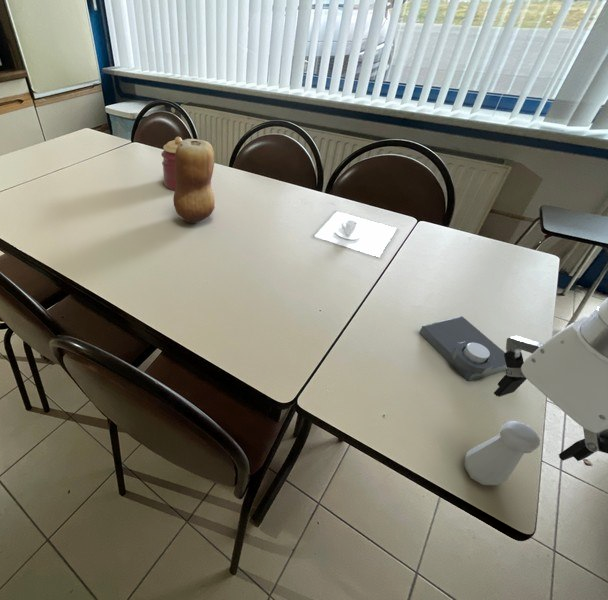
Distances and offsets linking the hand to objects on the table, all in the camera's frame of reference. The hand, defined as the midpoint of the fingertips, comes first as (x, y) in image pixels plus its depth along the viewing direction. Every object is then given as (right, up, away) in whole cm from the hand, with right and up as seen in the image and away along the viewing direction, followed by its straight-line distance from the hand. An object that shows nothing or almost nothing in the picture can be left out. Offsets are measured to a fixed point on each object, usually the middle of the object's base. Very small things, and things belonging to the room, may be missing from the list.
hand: (533, 422), depth 50 cm
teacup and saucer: (+2, +38, +66) cm, 76 cm away
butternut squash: (-49, +44, +72) cm, 98 cm away
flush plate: (+11, +6, +29) cm, 32 cm away
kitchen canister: (-55, +62, +93) cm, 125 cm away
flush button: (+9, +5, +24) cm, 26 cm away
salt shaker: (0, -12, +10) cm, 15 cm away
